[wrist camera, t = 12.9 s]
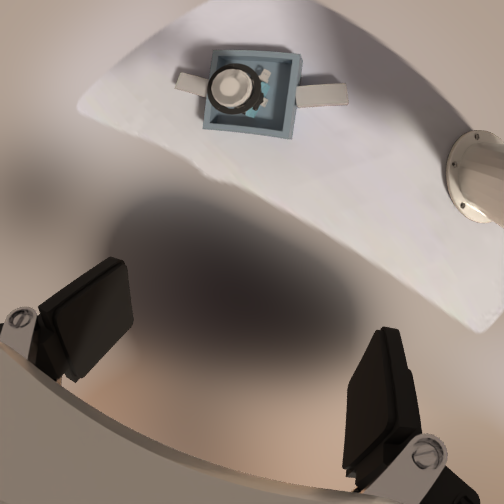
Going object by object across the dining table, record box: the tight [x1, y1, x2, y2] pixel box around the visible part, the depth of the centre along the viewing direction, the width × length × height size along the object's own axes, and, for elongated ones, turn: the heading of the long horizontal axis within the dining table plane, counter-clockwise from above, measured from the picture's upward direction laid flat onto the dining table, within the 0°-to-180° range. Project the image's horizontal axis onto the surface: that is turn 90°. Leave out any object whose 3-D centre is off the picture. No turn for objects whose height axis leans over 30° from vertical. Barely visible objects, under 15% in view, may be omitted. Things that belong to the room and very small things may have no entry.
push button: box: [207, 63, 271, 118], centre depth 26 cm, size 7×5×10 cm
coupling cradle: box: [175, 50, 349, 139], centre depth 30 cm, size 22×11×3 cm, turn 83°
